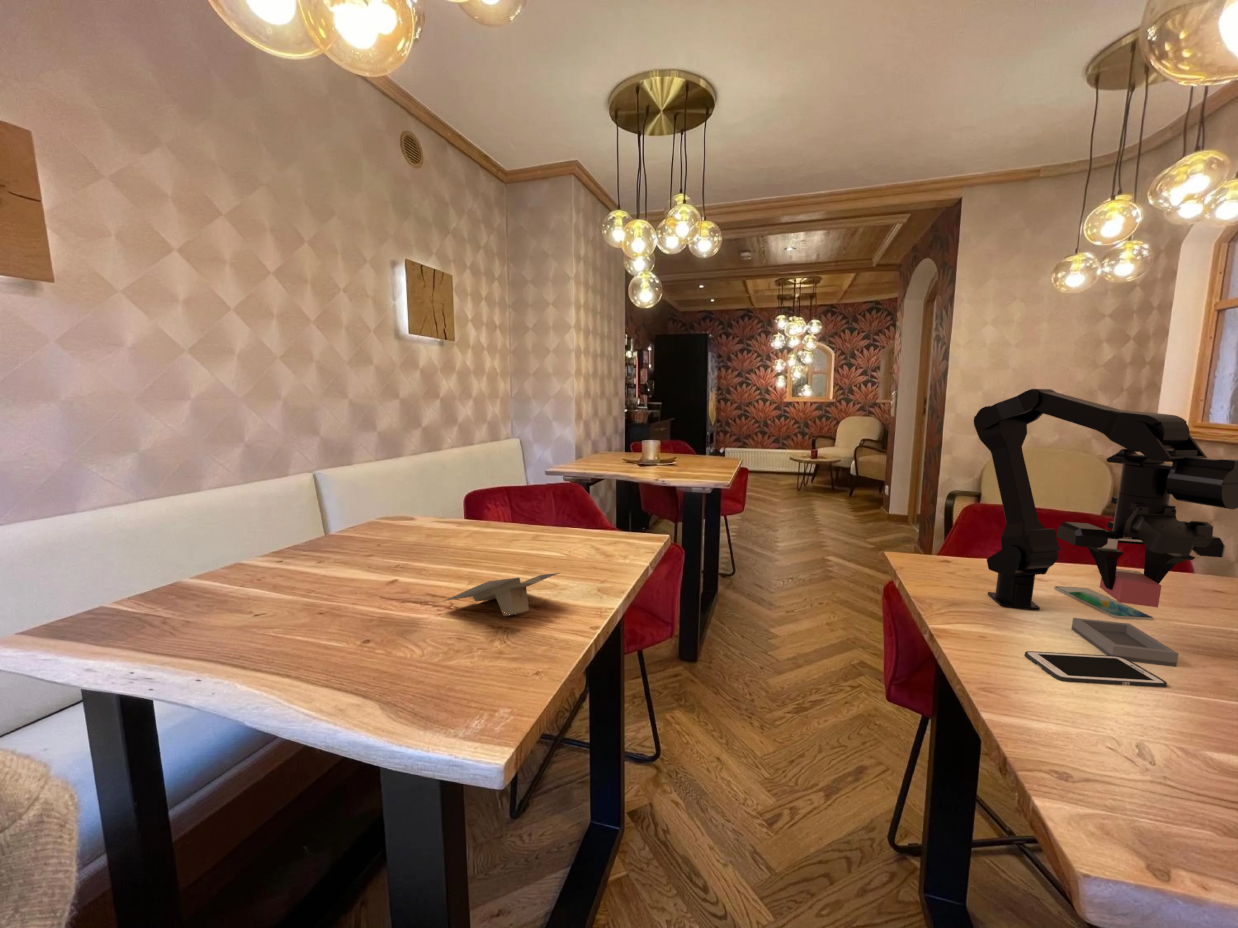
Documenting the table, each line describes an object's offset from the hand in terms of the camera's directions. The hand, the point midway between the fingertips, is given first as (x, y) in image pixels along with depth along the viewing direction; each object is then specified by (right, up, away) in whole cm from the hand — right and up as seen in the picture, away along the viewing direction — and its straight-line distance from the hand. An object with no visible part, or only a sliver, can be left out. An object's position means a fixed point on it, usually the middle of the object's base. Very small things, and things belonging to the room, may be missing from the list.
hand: (1128, 590), depth 83 cm
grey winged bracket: (-103, -7, +12) cm, 104 cm away
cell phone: (-12, -11, -6) cm, 17 cm away
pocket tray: (0, -9, +1) cm, 10 cm away
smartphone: (+13, -8, +19) cm, 25 cm away
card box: (0, -1, 0) cm, 1 cm away
